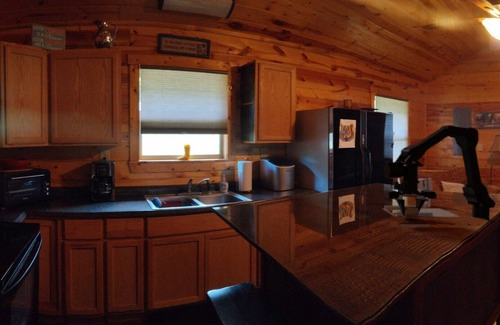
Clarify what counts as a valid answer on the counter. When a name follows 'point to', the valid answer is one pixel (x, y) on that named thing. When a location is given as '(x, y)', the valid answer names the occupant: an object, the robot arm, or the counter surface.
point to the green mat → (413, 224)
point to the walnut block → (410, 212)
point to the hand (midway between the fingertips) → (409, 215)
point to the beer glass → (425, 188)
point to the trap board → (423, 212)
